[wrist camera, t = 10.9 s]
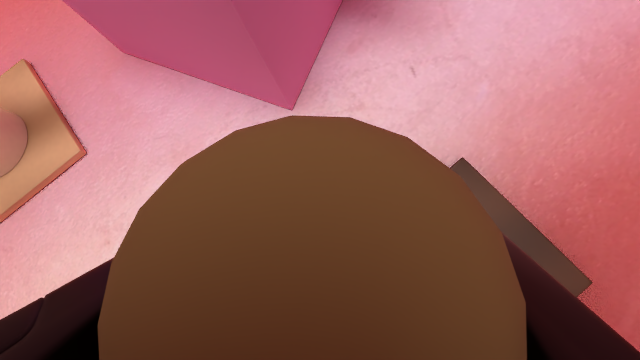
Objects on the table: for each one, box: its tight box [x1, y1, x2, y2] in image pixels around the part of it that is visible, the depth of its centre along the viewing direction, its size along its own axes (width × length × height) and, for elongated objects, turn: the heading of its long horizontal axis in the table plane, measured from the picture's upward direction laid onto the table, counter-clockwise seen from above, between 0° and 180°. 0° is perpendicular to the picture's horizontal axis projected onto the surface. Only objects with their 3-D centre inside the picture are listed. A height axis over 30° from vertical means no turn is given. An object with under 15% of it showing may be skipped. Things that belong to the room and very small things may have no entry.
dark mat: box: [450, 158, 592, 297], centre depth 20 cm, size 8×8×1 cm
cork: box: [98, 116, 527, 360], centre depth 9 cm, size 6×6×11 cm
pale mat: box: [0, 59, 86, 222], centre depth 26 cm, size 9×9×1 cm
